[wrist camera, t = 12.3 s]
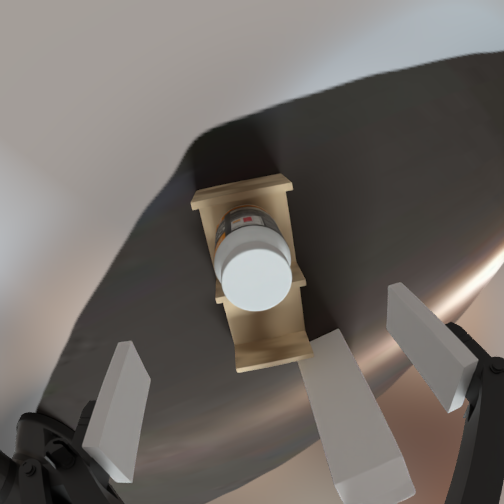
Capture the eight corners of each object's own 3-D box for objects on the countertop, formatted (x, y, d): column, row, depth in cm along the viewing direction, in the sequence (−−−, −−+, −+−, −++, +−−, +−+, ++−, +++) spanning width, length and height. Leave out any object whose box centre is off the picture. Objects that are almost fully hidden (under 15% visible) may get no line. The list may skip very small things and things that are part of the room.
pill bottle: (208, 211, 29) (201, 252, 20) (270, 196, 29) (291, 229, 19) (224, 267, 31) (225, 326, 22) (282, 252, 31) (305, 306, 22)
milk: (350, 358, 39) (418, 500, 18) (308, 377, 39) (356, 527, 19) (338, 326, 36) (417, 484, 16) (292, 348, 37) (342, 516, 17)
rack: (235, 342, 36) (237, 372, 31) (196, 190, 29) (190, 202, 24) (303, 328, 36) (313, 357, 31) (280, 173, 29) (291, 182, 24)
